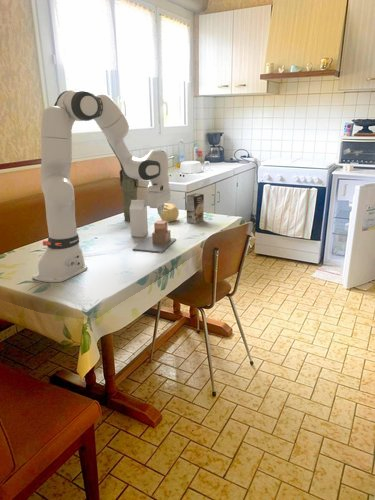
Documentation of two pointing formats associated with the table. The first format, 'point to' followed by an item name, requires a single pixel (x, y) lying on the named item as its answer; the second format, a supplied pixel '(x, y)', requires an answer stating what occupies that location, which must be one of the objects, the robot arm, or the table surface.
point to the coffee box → (195, 208)
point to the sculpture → (169, 212)
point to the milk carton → (138, 218)
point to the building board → (155, 243)
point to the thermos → (128, 193)
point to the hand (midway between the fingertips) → (160, 213)
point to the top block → (160, 226)
